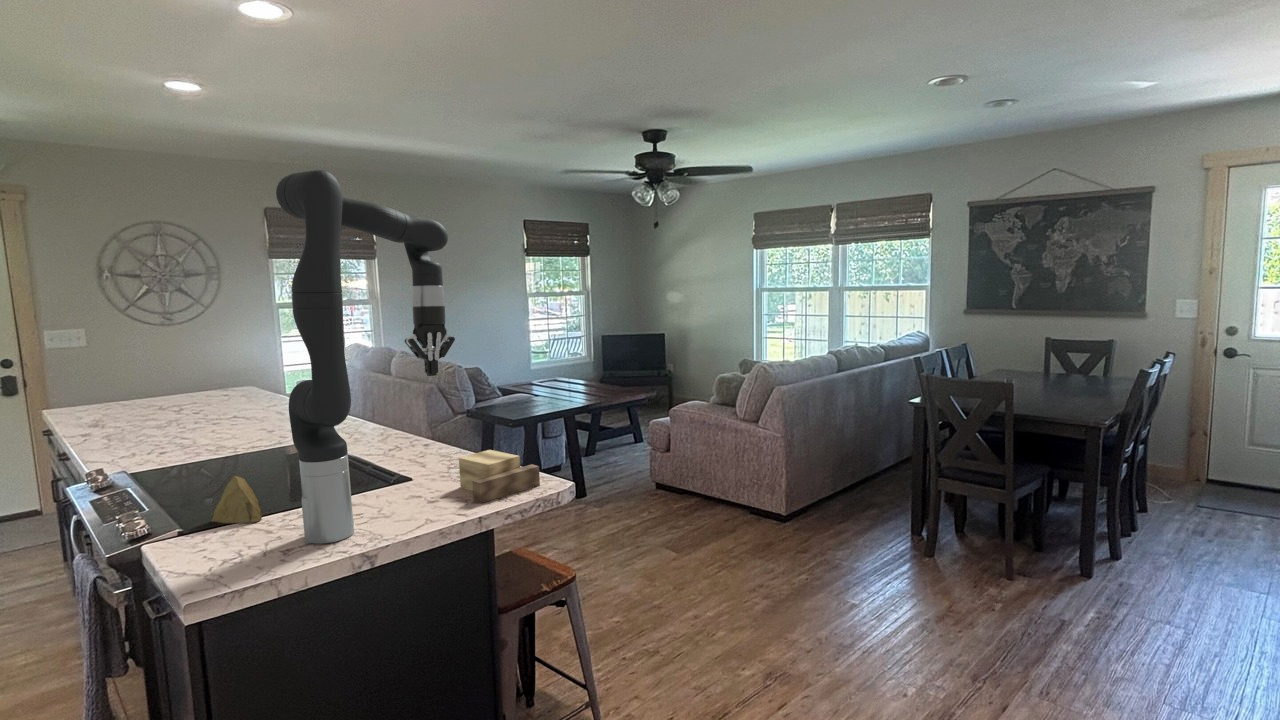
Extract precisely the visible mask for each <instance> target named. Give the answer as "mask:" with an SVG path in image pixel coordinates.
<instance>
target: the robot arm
mask: <svg viewBox="0 0 1280 720" xmlns="http://www.w3.org/2000/svg"><path fill="white" fill-rule="evenodd" d="M339 183H340V182H339V181H338V179H336V177H335V176H334V175H333V174H332V173H331V172H329V171H327V170H322V169H315V170H314V169H313V170H308V171H307V170H306V171H301V172H296V173H295V172H294V173H291V174H288V175H286V176H284V177H283V178H282V179H280V180H279V182H278V184H277V186H276V189H275V195H276V200H277V203H278V204H279V206H280V208H281V209H282V210H283V211H284V212H285V213H286V214H288V215H289V216H291V217H293V218H297V219H302V220H304V221H305V225H304V227H305V241H304V246H303V247H304V248H303V250H302V254H301V256H300V258H299V261H298V263H297V266H296V268H295V271H294V274H293V279H292V282H291V302H292V315H293V320H294V324H295V325H296V328H297V330H298V332H299V335H300V336H301V339H302V341H303V342H304V346H305V347H306V350H307V352H308V355H309V361H310V368H311V369H310V370H311V379H307V380H302V381H300V382H299V383H298V384H296V385H295V386H294V387H293V389H292V390H291V392H290V394H289V399H288V414H289V415H288V416H289V423H290V429H291V430H290V431H291V436H292V443H293V446H294V447H295V449H296V451H297V454H298V460H299V462H298V463H299V472H300V473H299V474H300V484H301V485H300V486H301V495H302V496H301V499H300V501H301V510H302V521H303V522H302V523H303V534H304V543H305V545H309V544H317V545H318V544H329V543H335V542H339V541H342V540H345V539H347V538H349V537H351V536H352V535H354V532H355V527H354V515H353V512H354V511H353V503H352V490H351V479H350V477H351V476H350V466H349V465H350V464H349V454H348V452H349V451H348V444H347V441H346V439H344V438H343V437H342V436H340V434H339V433H338V432H337V429H336V428H335V427H336V426H339V425H340V424H342V423H343V422H344V421H345V420H346V419H347V418H348V415H349V414H350V411H351V406H352V396H351V388H350V381H349V375H348V368H347V362H346V361H347V360H346V351H345V339H344V337H345V336H344V311H343V309H344V307H343V306H344V305H343V289H342V288H343V287H342V273H341V272H342V270H341V269H342V268H341V267H342V265H341V258H342V257H341V233H342V227H346V228H351V229H353V230H357V231H360V232H363V233H366V234H370V235H371V236H372V235H373V236H375V237H378V238H382V239H384V240H388V241H391V242H394V243H399V244H400V243H401V244H402V243H403V245H404V249H405V252H406V256H407V258H408V263H409V264H410V267H411V273H412V274H411V277H412V278H411V279H412V293H411V298H412V299H411V300H412V302H411V303H412V323H413V330H412V335H410V336H409V337H408V338H405V339H404V343H405V344H406V346H407V347H408V348H409V349H410V351H411V352H412V353H413V355H414V356H415V357H416V358H417V359H420V360H422V361H423V362H424V373H425V374H426V376H428V377H436V376H437V375H438V373H439V360H440V359H441V358H445V357H446V355H447V353H448V352H449V350H450V348H451V347H452V345H454V342H455V341H456V337H454V336H452V335H450V334H448V333H447V328H446V326H445V325H446V304H445V303H446V302H445V301H446V300H445V292H444V286H443V284H444V282H443V281H444V280H443V268H442V267H443V266H442V265H441V263H439V262H437V261H433V260H431V256H430V255H429V253H430V252H435V251H439V250H440V251H441V250H442V249H444V247H446V246H447V244H448V241H449V234H448V232H447V229H446V227H444V226H443V224H441V223H440V222H439V221H437V220H434V219H430V218H426V217H421V216H416V215H412V214H411V215H410V214H407V213H404V212H402V211H400V210H397V209H394V208H391V207H389V206H385V205H382V204H380V203H379V204H378V203H375V202H370V201H363V200H359V199H353V198H349V197H344V196H343V194H342V193H343V192H342V189H341V186H340V184H339ZM418 343H419V344H418ZM419 345H420V346H419Z"/></svg>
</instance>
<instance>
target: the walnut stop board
mask: <svg viewBox="0 0 1280 720" xmlns="http://www.w3.org/2000/svg"><path fill="white" fill-rule="evenodd" d="M540 478H541V477H540V465H536V464H532V463H531V464H528V465H525V466H520V468H517V469H513V470H510V471H506V472H502V473H499V474H495V475H491V476H488V477H484V478H481V479H477V480H473V481H472V482H473V491H472V495H473V501H474V502H476V503H479V504H482V503H486V502H490V501H494V500H496V499H500V498H502V497H505V496H508V495H509V496H510V495H512V493H513V494H516V493H518V491H519V492H522V491H525V489H526V490H529V489H532V488H535V487H538V486H540V485H541V482H540V481H541V479H540ZM515 492H516V493H515Z"/></svg>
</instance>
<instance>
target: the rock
mask: <svg viewBox="0 0 1280 720" xmlns="http://www.w3.org/2000/svg"><path fill="white" fill-rule="evenodd" d="M262 516H263V515H262V509H261V506H260V503H259V500H258V499H257V496H256V494H255V492H254V489H252V488H251V487H250V485H249V483H248V482H247V481H246V479H245V478H243V477H241V476H238V475H233V476H232V477H231V479H230V480H229V481H228V483H227V485H226V486H225V488H224V490H223V493H222V495H221V496H220V499H219V502H218V503H217V505H216V506H215V509H214V512H213V518H212V520H211V522H212V523H219V524H243V523H245V524H246V523H247V524H248V523H250V524H251V523H256V522H260V521H262V519H263V517H262Z"/></svg>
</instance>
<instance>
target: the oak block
mask: <svg viewBox="0 0 1280 720" xmlns="http://www.w3.org/2000/svg"><path fill="white" fill-rule="evenodd" d="M458 466H459V468H458V469H459V483H460V489H461V488H462V489H465V490H469V491H471V490H472V492H473V482H472V481H473V480H477V479H481V478H484V477H488V476H491V475H495V474H499V473H502V472H506V471H510V470H513V469H517V468H520V467H521V458H520V455H517V454H512V453H508V452H504V451H503V452H502V451H499V450H494V449H493V450H492V449H487V450H483V451H479V452H475V453H472V454H468V455H465V456H461V457H459V458H458Z"/></svg>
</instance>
